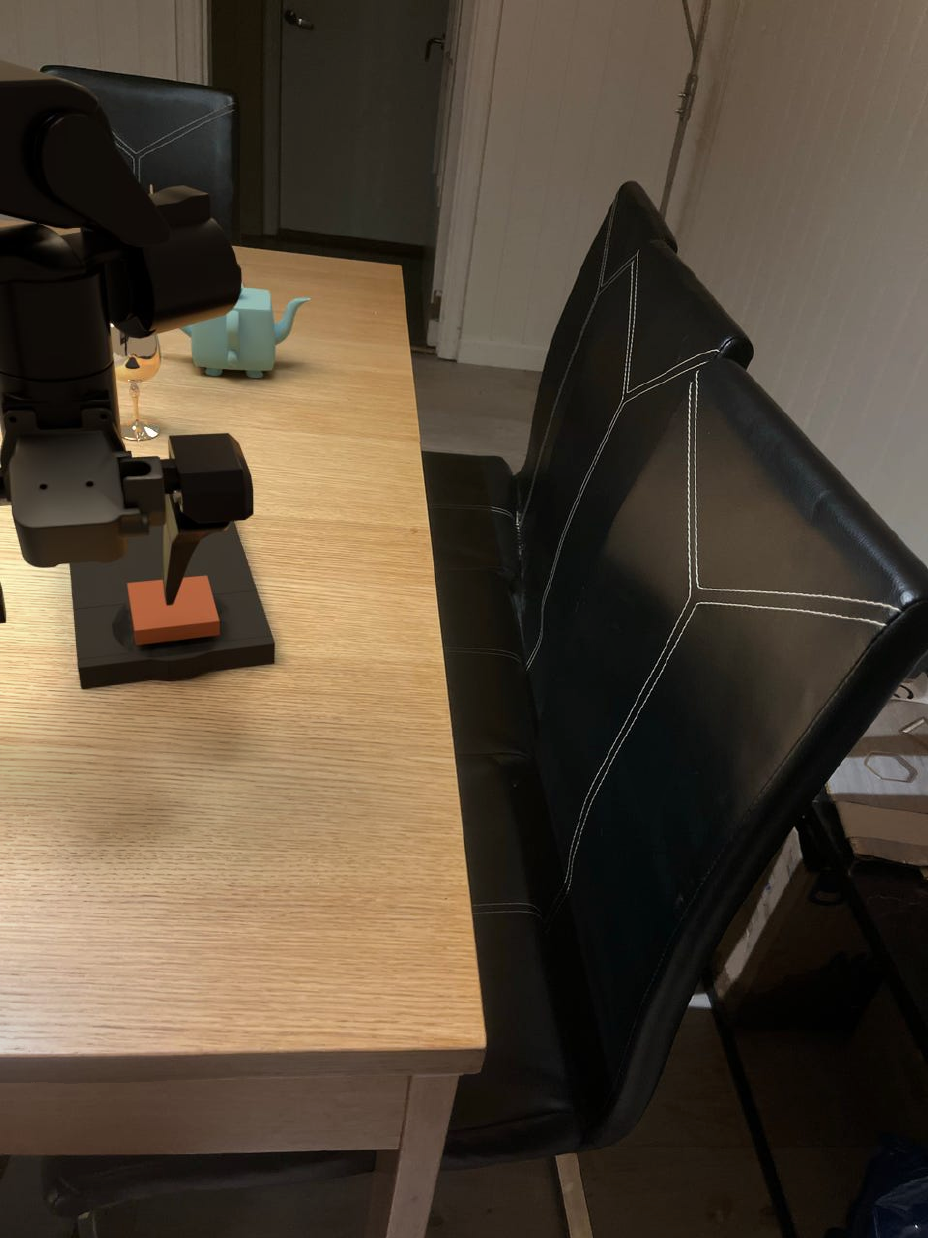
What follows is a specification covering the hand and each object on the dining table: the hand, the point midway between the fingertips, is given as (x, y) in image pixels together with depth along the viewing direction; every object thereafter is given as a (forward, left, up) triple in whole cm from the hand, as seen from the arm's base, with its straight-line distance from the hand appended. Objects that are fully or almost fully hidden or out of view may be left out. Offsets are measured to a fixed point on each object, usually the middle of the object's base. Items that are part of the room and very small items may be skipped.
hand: (88, 610), depth 54 cm
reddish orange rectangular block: (-4, +12, -12) cm, 17 cm away
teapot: (-32, +60, -12) cm, 69 cm away
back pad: (-10, +18, -12) cm, 24 cm away
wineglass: (-29, +38, -12) cm, 49 cm away
